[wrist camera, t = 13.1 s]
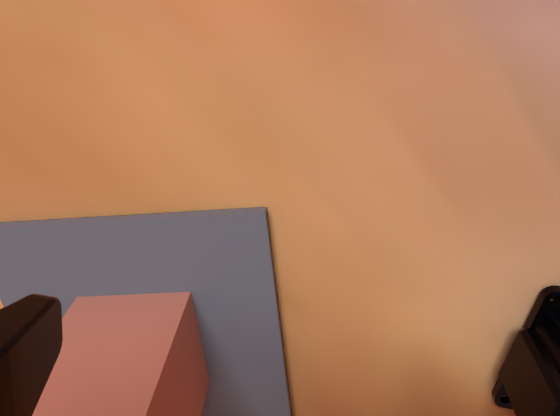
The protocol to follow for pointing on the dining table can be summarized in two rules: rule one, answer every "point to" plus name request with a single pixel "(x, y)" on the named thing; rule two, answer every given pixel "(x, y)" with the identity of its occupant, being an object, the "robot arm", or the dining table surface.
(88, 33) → the dining table surface
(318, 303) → the dining table surface
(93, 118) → the dining table surface
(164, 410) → the red block
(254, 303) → the slate mat
